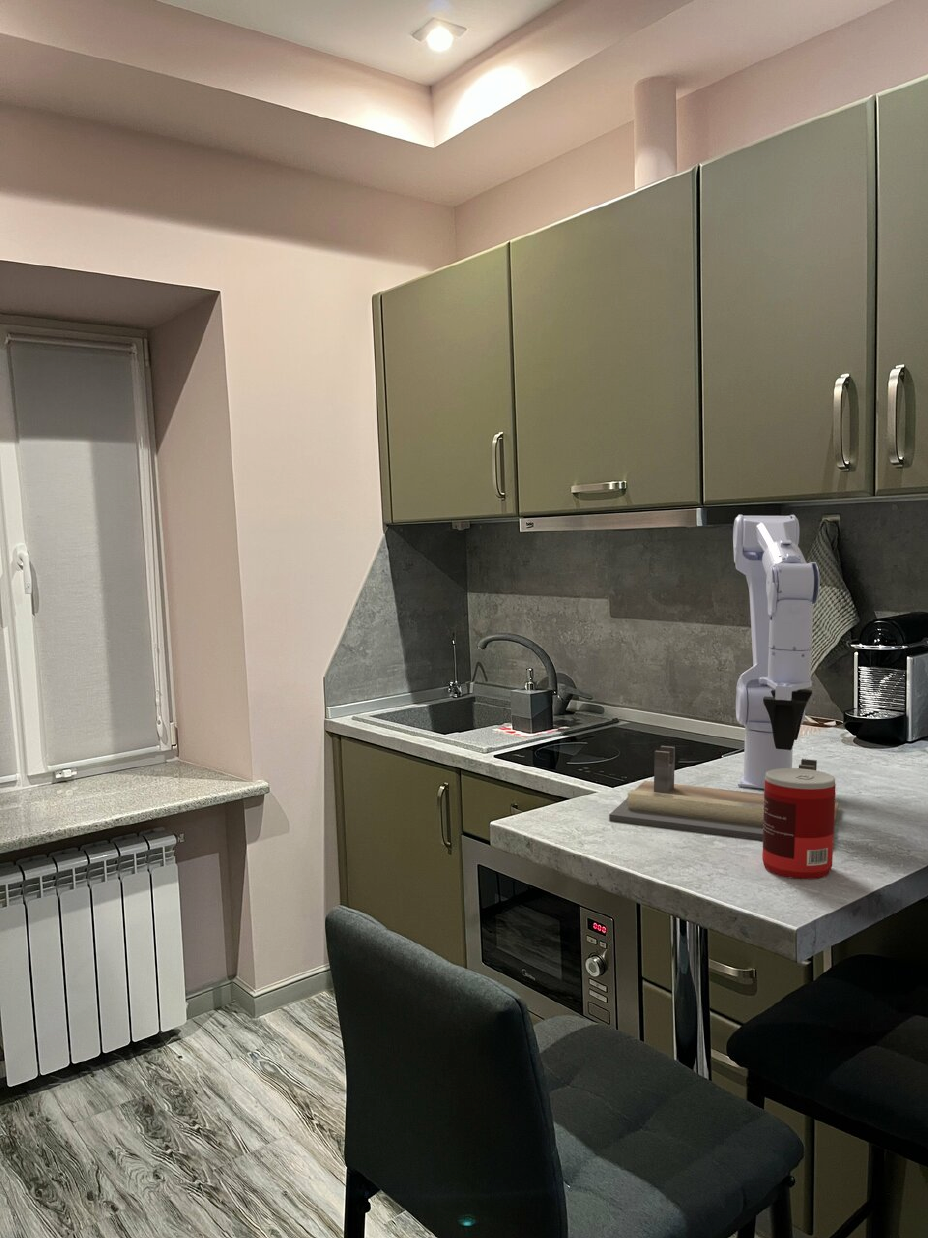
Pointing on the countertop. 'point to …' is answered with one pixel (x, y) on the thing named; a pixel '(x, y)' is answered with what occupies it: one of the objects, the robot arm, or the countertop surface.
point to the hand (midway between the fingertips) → (786, 744)
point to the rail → (696, 807)
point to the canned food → (798, 822)
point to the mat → (686, 822)
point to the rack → (666, 785)
